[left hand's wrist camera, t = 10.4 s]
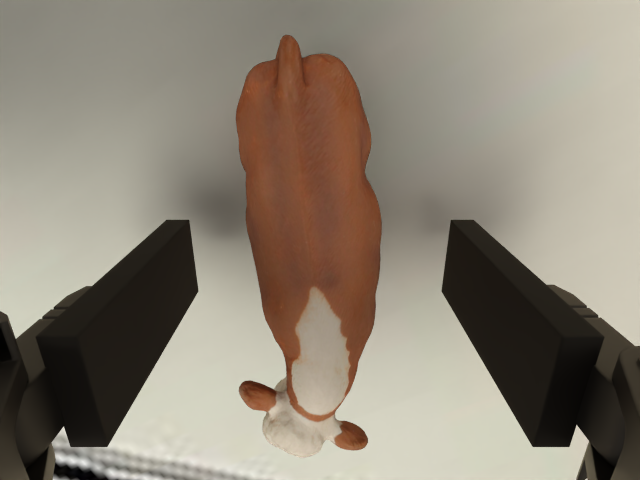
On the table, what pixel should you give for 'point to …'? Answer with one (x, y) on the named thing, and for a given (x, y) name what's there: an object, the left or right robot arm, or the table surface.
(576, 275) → the table surface
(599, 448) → the left robot arm
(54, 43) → the table surface
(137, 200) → the table surface
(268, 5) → the table surface
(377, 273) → the bull figurine
